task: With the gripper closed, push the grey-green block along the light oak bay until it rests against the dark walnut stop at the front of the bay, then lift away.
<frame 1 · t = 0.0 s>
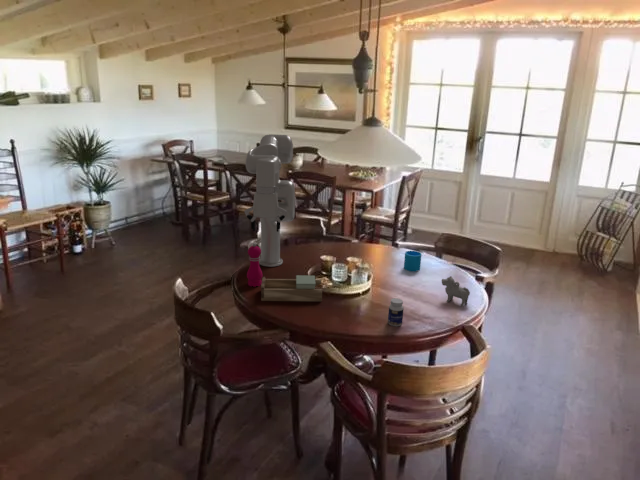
hand: (265, 230, 216), 31 cm above the table, tool pointing down, fingers open, 9 cm apart
bay: (291, 295, 231), on the table
pill bottle: (394, 323, 209), on the table
mug: (411, 267, 269), on the table
grey-green block: (305, 286, 230), point 5 cm above the table, slide at 0.0 cm
dog figurine: (454, 301, 230), on the table
pepper mill: (254, 284, 242), on the table
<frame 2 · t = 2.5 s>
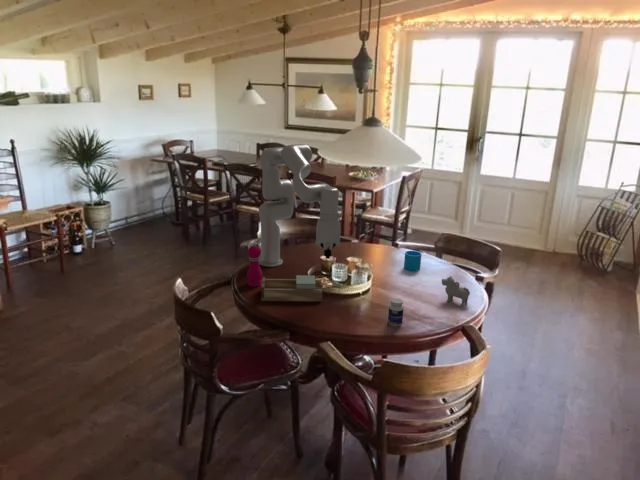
hand: (327, 257, 226), 18 cm above the table, tool pointing down, fingers closed
nothing on the table moved.
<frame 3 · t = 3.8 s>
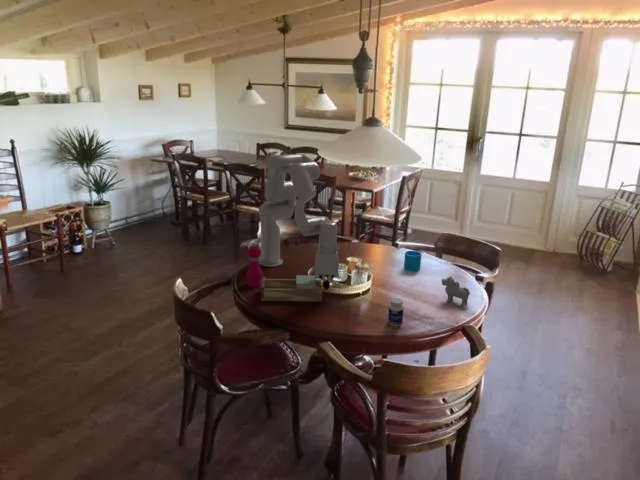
hand: (326, 288, 231), 3 cm above the table, tool pointing down, fingers closed
nothing on the table moved.
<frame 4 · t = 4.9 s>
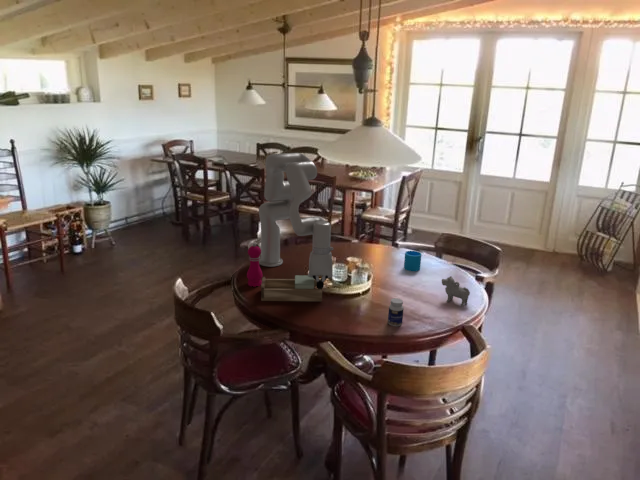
hand: (319, 289, 231), 3 cm above the table, tool pointing down, fingers closed
grey-green block: (304, 286, 230), point 4 cm above the table, slide at 0.6 cm, touching gripper
everything else where it was.
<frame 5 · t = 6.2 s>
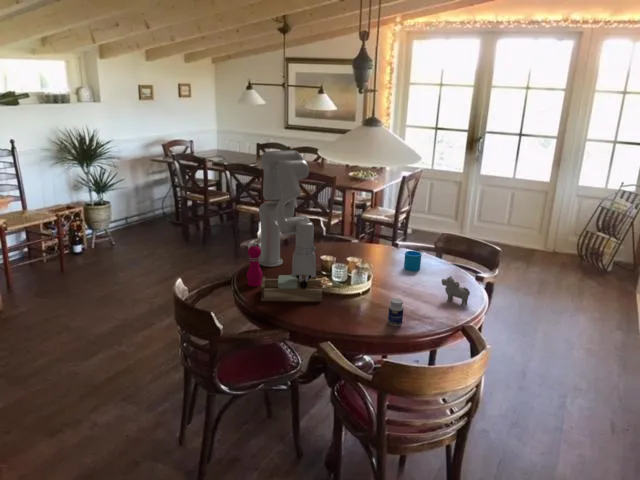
hand: (303, 289, 231), 3 cm above the table, tool pointing down, fingers closed
grey-green block: (287, 285, 230), point 5 cm above the table, slide at 7.8 cm, touching gripper
everything else where it was.
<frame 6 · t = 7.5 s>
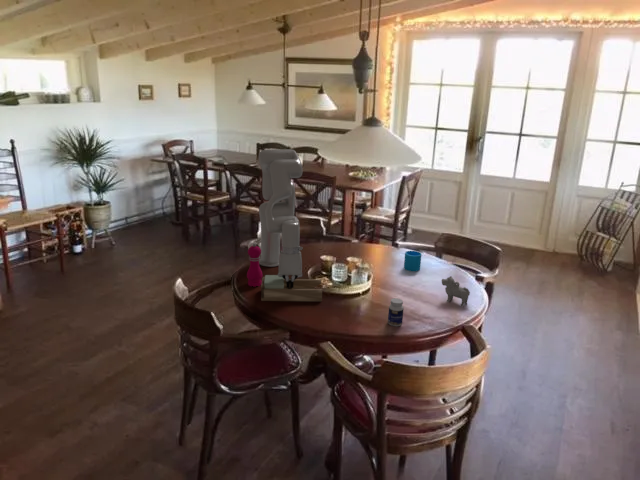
hand: (289, 288, 230), 3 cm above the table, tool pointing down, fingers closed
grey-green block: (274, 285, 229), point 5 cm above the table, slide at 13.7 cm, touching bay, gripper
everything else where it was.
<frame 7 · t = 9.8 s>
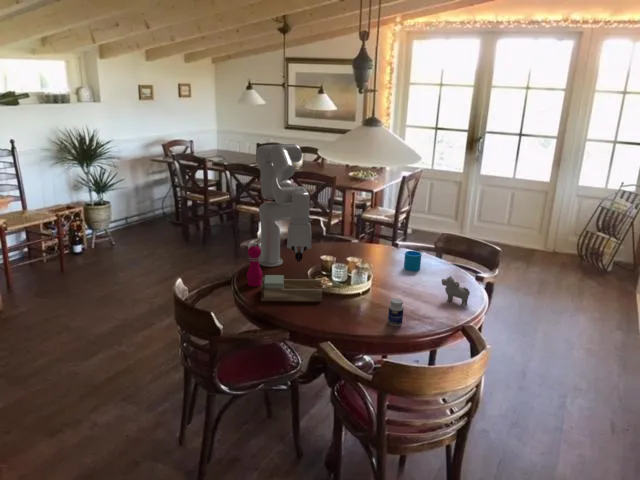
hand: (298, 260, 227), 16 cm above the table, tool pointing down, fingers closed
grey-green block: (274, 285, 229), point 5 cm above the table, slide at 13.7 cm, touching bay
everything else where it was.
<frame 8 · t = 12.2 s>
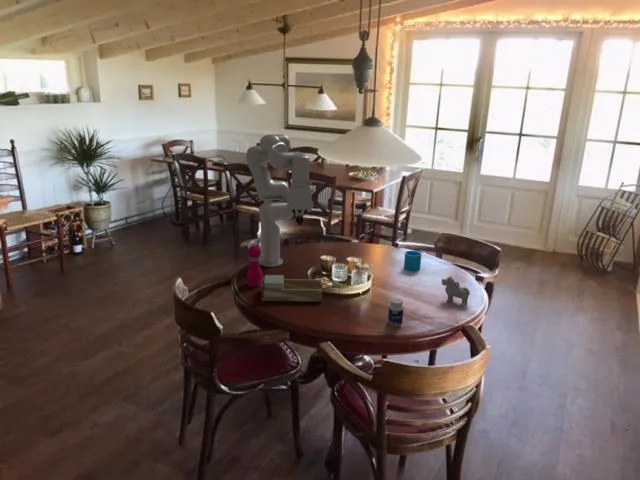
hand: (299, 224, 234), 29 cm above the table, tool pointing down, fingers closed
nothing on the table moved.
at the end: grey-green block slide at 13.7 cm; grey-green block moved 13.7 cm from its start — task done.
